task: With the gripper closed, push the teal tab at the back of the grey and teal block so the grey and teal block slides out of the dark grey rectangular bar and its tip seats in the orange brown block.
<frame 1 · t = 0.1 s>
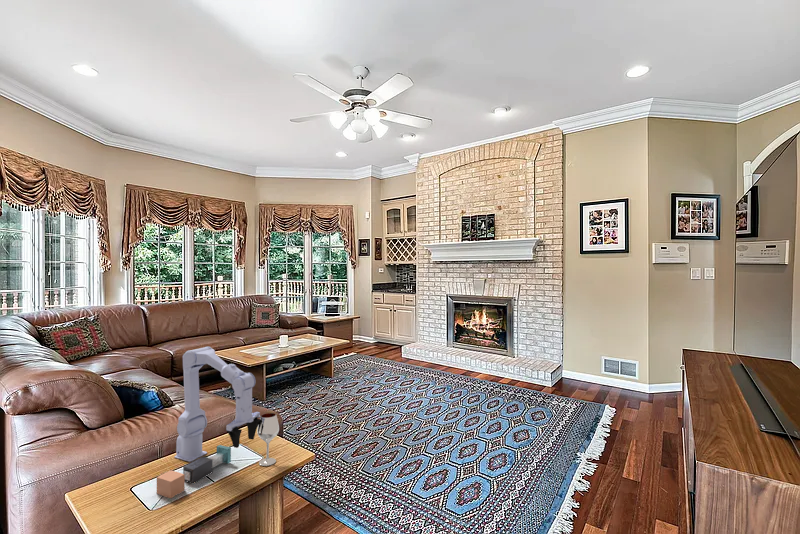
hand: (243, 442, 143), 10 cm above the table, tool pointing down, fingers open, 7 cm apart
wineglass: (267, 462, 148), on the table, touching gripper
dark grey rectangular bar: (198, 476, 138), on the table
orange brown block: (170, 492, 128), on the table
grey and teal block: (207, 463, 141), point 3 cm above the table, slide at 0.0 cm
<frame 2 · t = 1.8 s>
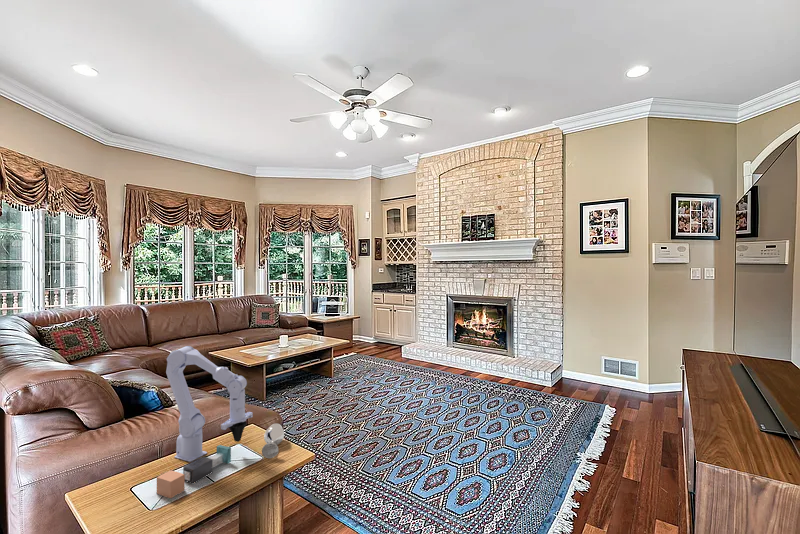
hand: (237, 440, 155), 6 cm above the table, tool pointing down, fingers closed
wineglass: (270, 450, 151), point 3 cm above the table
everything else where it was.
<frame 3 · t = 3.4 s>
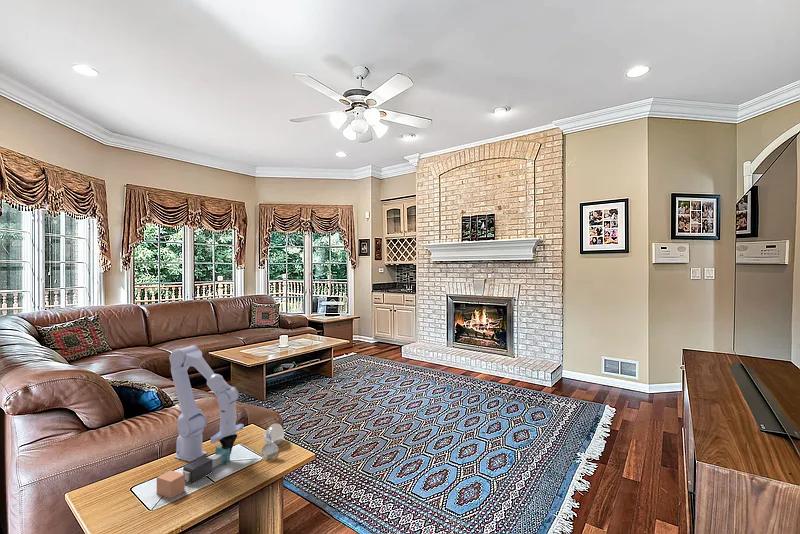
hand: (227, 454, 150), 2 cm above the table, tool pointing down, fingers closed
grey and teal block: (206, 463, 141), point 3 cm above the table, slide at 0.5 cm, touching gripper
everything else where it was.
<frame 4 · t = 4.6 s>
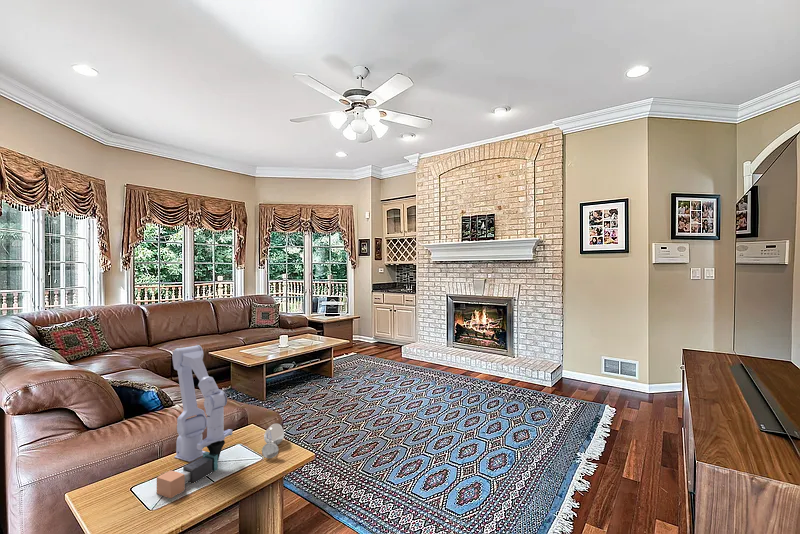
hand: (215, 460, 145), 2 cm above the table, tool pointing down, fingers closed
grey and teal block: (192, 470, 136), point 3 cm above the table, slide at 6.1 cm, touching gripper
everything else where it was.
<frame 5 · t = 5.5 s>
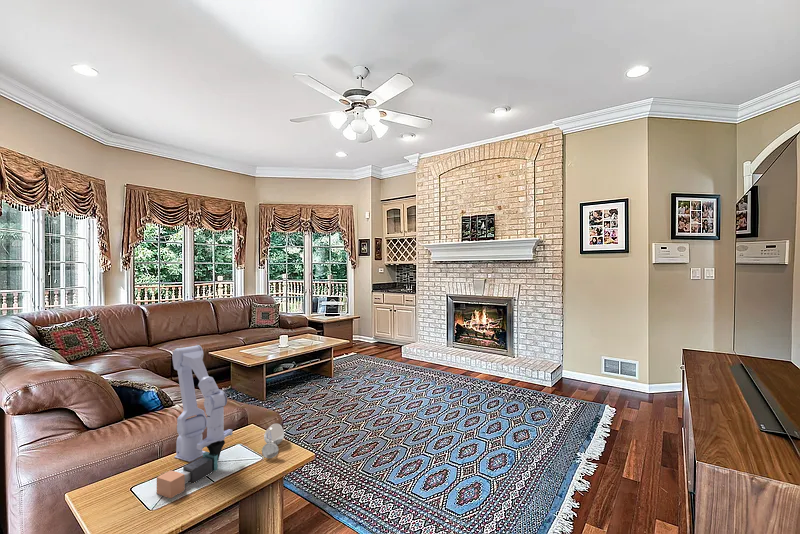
hand: (215, 460, 145), 2 cm above the table, tool pointing down, fingers closed
nothing on the table moved.
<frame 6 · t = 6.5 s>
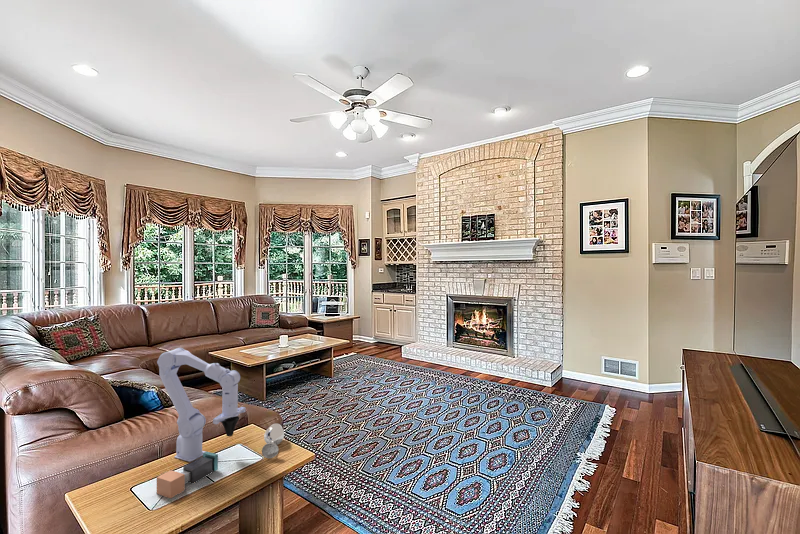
hand: (229, 435, 153), 8 cm above the table, tool pointing down, fingers closed
grey and teal block: (192, 470, 136), point 3 cm above the table, slide at 6.0 cm
everything else where it was.
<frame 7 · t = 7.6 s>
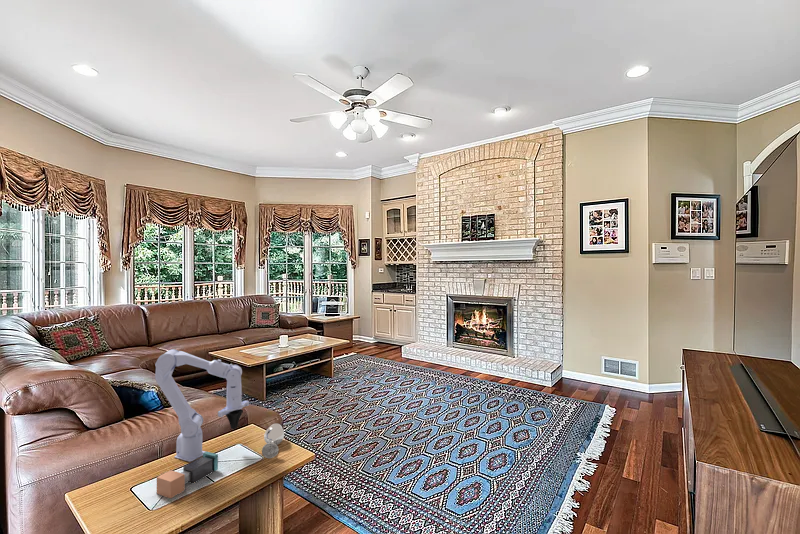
hand: (234, 428, 158), 9 cm above the table, tool pointing down, fingers closed
nothing on the table moved.
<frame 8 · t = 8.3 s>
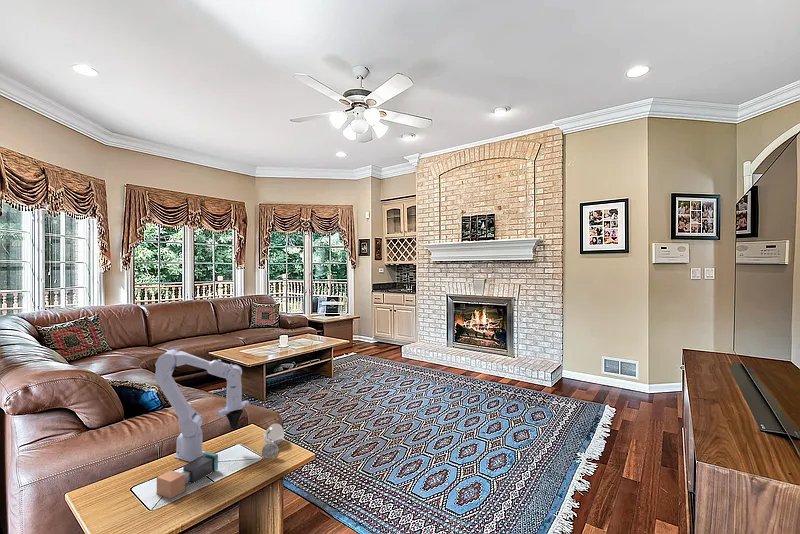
hand: (234, 428, 158), 9 cm above the table, tool pointing down, fingers closed
nothing on the table moved.
at the end: grey and teal block slide at 6.0 cm; the gripper is holding nothing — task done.
